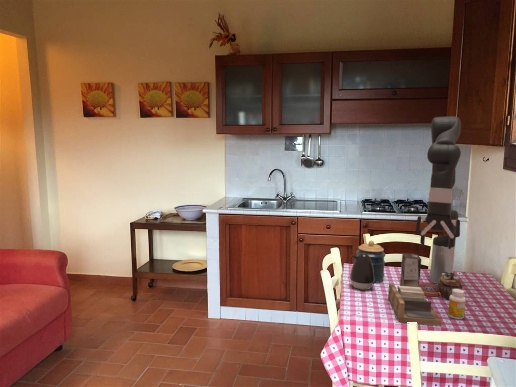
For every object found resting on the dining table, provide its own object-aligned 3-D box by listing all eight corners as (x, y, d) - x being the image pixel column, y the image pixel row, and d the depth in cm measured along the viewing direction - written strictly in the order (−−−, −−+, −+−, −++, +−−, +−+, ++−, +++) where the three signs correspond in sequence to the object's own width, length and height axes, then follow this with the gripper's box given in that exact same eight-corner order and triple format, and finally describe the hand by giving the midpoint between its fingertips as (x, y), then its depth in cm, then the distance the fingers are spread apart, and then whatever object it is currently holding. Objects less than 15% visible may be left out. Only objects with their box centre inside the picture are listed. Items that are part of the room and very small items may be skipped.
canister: (353, 273, 201) (355, 236, 199) (381, 275, 199) (384, 238, 197) (356, 281, 188) (358, 243, 186) (385, 284, 187) (388, 245, 184)
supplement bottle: (444, 313, 156) (447, 288, 154) (458, 313, 156) (461, 288, 155) (452, 319, 150) (455, 293, 149) (467, 319, 151) (469, 293, 150)
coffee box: (418, 298, 170) (421, 259, 168) (402, 296, 172) (405, 258, 170) (415, 290, 179) (418, 253, 177) (399, 289, 180) (402, 252, 179)
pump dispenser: (347, 283, 186) (349, 249, 184) (371, 284, 186) (373, 250, 184) (351, 291, 176) (353, 255, 174) (376, 292, 175) (378, 256, 174)
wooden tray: (387, 299, 168) (389, 282, 167) (424, 302, 166) (425, 285, 165) (398, 322, 146) (400, 303, 145) (441, 326, 144) (442, 306, 144)
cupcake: (466, 301, 168) (468, 277, 167) (441, 300, 169) (443, 276, 168) (456, 293, 178) (458, 270, 177) (433, 291, 178) (434, 268, 177)
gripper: (461, 203, 149) (457, 248, 149) (418, 199, 154) (414, 243, 154) (463, 203, 142) (459, 251, 142) (418, 199, 147) (414, 245, 147)
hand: (436, 247), depth 148 cm, fingers open, 8 cm apart
